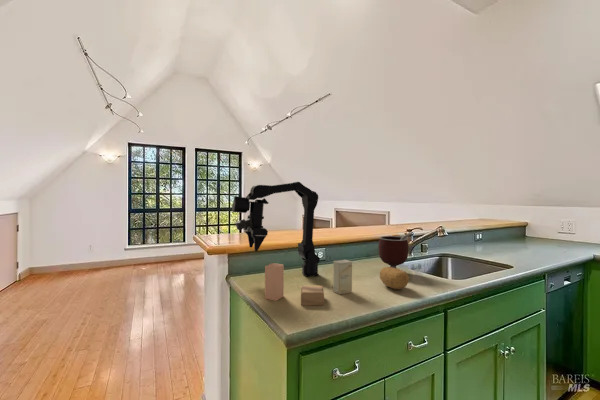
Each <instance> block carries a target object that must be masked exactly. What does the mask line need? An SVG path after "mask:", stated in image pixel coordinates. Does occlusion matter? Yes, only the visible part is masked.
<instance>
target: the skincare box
mask: <svg viewBox="0 0 600 400" xmlns="http://www.w3.org/2000/svg"><path fill="white" fill-rule="evenodd" d="M332 274H333V278H332V279H333V285H332V286H333V287H332V289H333V290H332V291H333V292H335V293H336V294H339V295H344V294H349V293H350V294H351V293H353V261H351V260H350V259H349V260H348V259H337V260H333V273H332Z"/></svg>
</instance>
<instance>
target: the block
mask: <svg viewBox="0 0 600 400" xmlns="http://www.w3.org/2000/svg"><path fill="white" fill-rule="evenodd" d="M284 269H285V267H284V264H282V263H274V262H272V263H269V264H266V265H265V266H264V299H266V300H271V301H276V302H277V301H278V300H280V299H281V298H283V297H285V296H284V293H285V291H284V287H285V285H284V284H285V283H284V279H285V278H284V275H285V273H284V272H285V271H284Z"/></svg>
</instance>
